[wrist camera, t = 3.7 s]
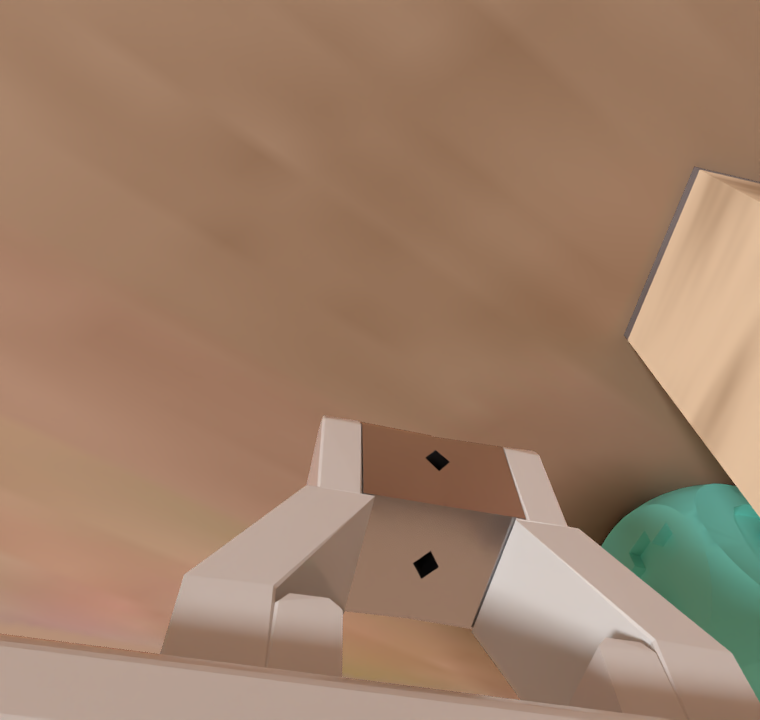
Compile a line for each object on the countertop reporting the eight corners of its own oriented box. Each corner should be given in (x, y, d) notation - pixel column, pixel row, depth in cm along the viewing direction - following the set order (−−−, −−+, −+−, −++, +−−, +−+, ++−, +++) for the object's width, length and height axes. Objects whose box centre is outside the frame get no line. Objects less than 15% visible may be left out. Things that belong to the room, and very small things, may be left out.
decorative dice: (560, 599, 31) (617, 780, 24) (656, 456, 28) (757, 618, 21) (716, 643, 33) (814, 826, 25) (826, 513, 29) (974, 682, 22)
